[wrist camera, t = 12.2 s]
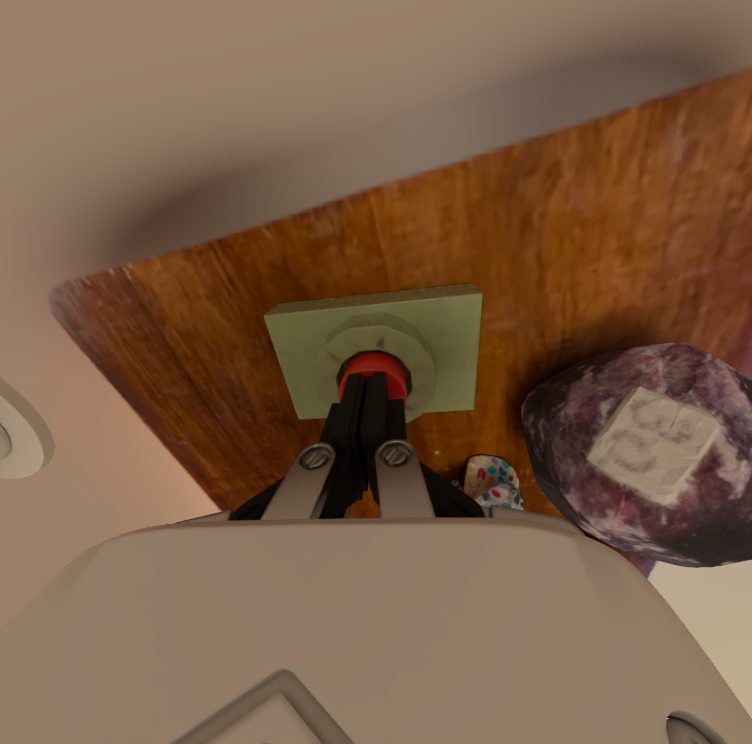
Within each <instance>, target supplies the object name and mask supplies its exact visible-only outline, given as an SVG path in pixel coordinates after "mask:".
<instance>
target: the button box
mask: <svg viewBox="0 0 752 744" xmlns="http://www.w3.org/2000/svg"><path fill="white" fill-rule="evenodd" d="M482 298H483V293H482V292H481V291H480V290H479V289H477V288H476V287H475V286H474V285H473V284H472V283H466V284H456V285H447V286H438V287H428V288H419V289H410V290H400V291H391V292H382V293H372V294H363V295H354V296H344V297H335V298H326V299H316V300H307V301H298V302H288V303H279V304H278V305H276V306H275V307H274V308H273V309H271V310H270V311H269V312H268V313H266V314H265V315H264V319H265V322H266V325H267V328H268V331H269V334H270V337H271V340H272V343H273V346H274V349H275V352H276V355H277V358H278V361H279V363H280V366H281V369H282V372H283V375H284V378H285V381H286V384H287V387H288V390H289V393H290V396H291V399H292V402H293V405H294V407H295V410H296V413H297V416H298V419H299V420H300V419H318V418H327V417H328V413H329V410H330V407H331V405H332V403H339V399H338V391H339V387H340V384H341V381H342V378H343V374H344V371H345V368H346V366H347V365H348V363H349V362H350V361H351V360H352V359H353V358H354V357H356V356H358V355H360V354H362V353H366V352H381V353H385V354H388V355H390V356H392V357H393V358H395V359H396V360H397V361H398V362H399V363H400V364H401V366H402V367H403V369H404V371H405V375H406V387H407V403H406V406H405V417H406V423H408V422H410V421H412V420H414V419H416V418H418V417H420V415H421V414H422V413H427V412H445V411H463V410H474V404H475V391H476V377H477V364H478V351H479V338H480V324H481V311H482Z"/></svg>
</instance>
